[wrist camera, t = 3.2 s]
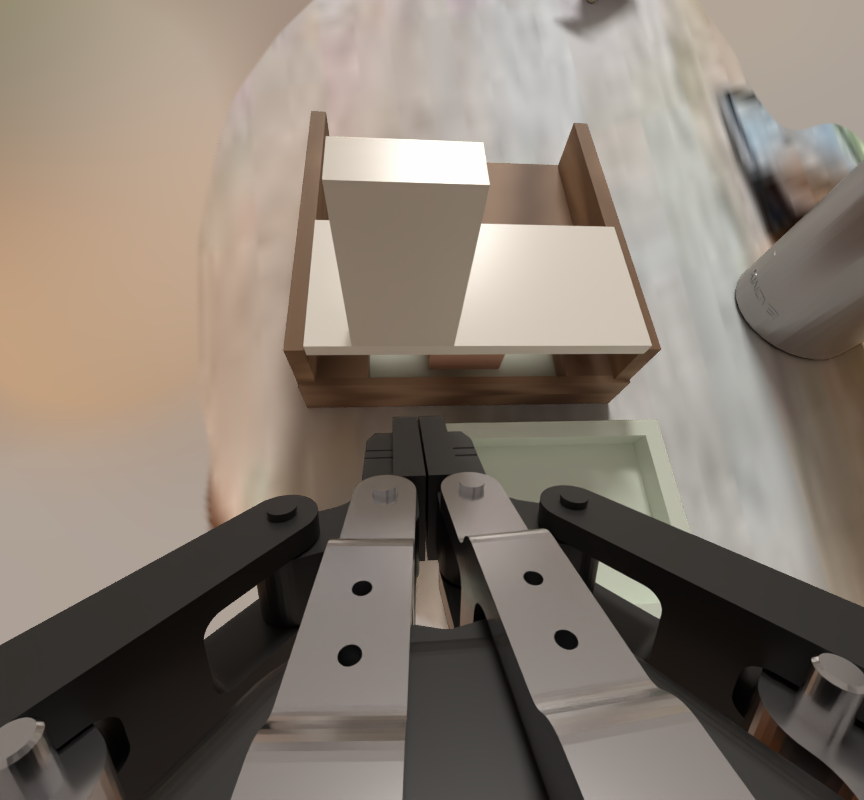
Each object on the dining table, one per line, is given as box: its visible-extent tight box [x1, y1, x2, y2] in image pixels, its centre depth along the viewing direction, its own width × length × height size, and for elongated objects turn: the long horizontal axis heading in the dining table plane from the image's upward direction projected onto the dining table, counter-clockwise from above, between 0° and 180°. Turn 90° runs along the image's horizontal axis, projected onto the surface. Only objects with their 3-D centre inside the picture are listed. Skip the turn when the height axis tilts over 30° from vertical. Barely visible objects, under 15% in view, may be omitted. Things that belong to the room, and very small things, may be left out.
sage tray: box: [446, 419, 691, 619], centre depth 24 cm, size 13×11×2 cm
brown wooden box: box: [283, 111, 661, 408], centre depth 29 cm, size 20×20×6 cm
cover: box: [303, 136, 652, 355], centre depth 19 cm, size 18×8×10 cm, turn 93°
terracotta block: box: [428, 354, 505, 370], centre depth 26 cm, size 4×4×4 cm
